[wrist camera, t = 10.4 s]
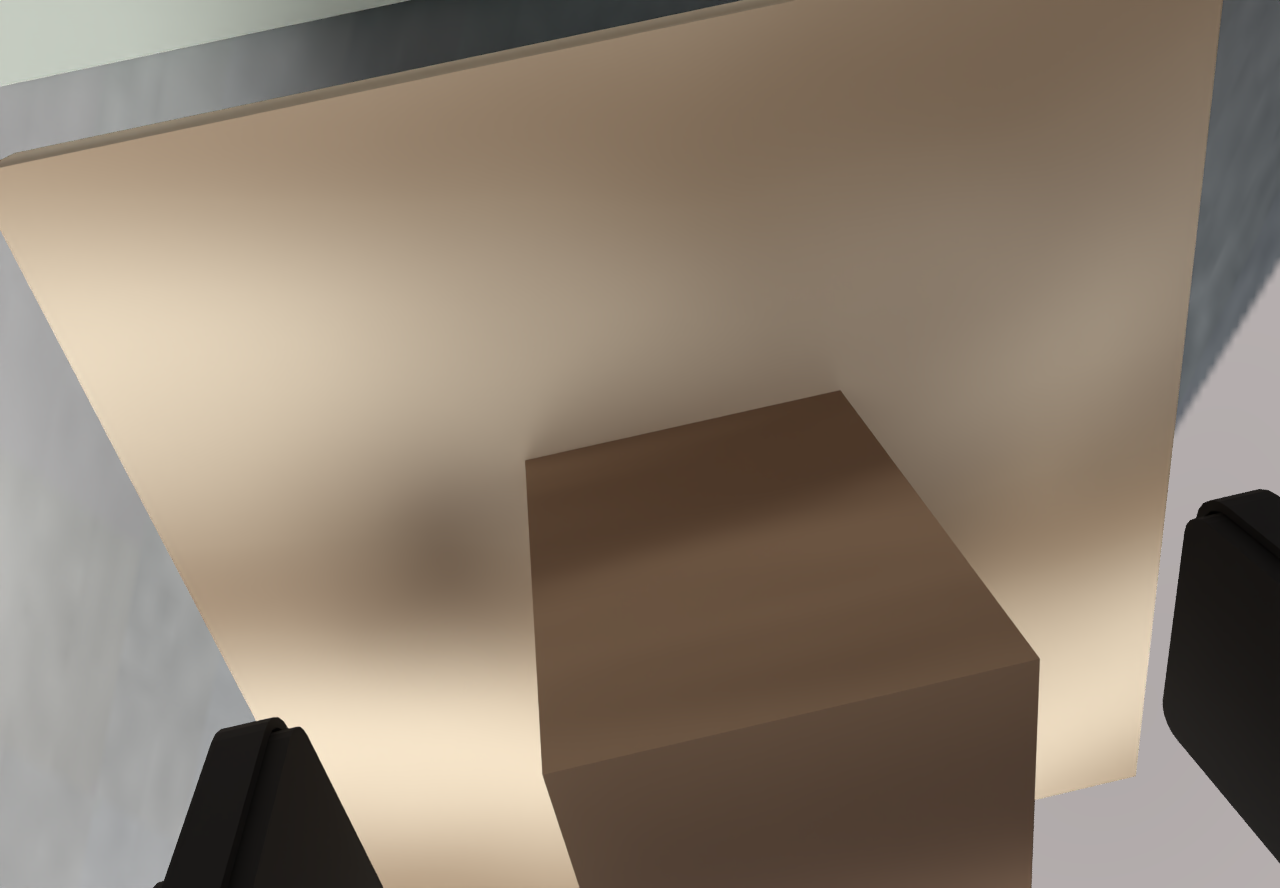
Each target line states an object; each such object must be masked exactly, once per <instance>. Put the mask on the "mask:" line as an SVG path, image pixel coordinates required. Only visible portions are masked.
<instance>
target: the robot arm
mask: <svg viewBox="0 0 1280 888" xmlns="http://www.w3.org/2000/svg"><path fill="white" fill-rule="evenodd" d="M1163 711H1164V715H1165V718H1166V721H1167V724H1168V726H1169V728H1170V730H1171V732H1172V733H1173V735H1174V736H1175V737H1176V739H1177V740H1178V741H1179V743H1180V744H1181V745H1182V746H1183V747H1184V748H1185V749H1186V751H1187V752H1188V753H1189V755H1190V756H1191V757H1192V758H1193V759H1194V760H1195V762H1196V763H1197V764H1198V765H1199V766H1200V768H1201V769H1202V770H1203V771H1204V772H1205V774H1206V775H1207V776H1208V777H1209V779H1210V780H1211V781H1212V782H1213V783H1214V785H1215V786H1216V787H1217V788H1218V789H1219V790H1220V792H1221V793H1222V794H1223V795H1224V797H1225V798H1226V799H1227V800H1228V801H1229V803H1230V804H1231V805H1232V806H1233V807H1234V809H1235V810H1236V811H1237V812H1238V813H1239V815H1240V816H1241V817H1242V818H1243V819H1244V820H1245V822H1246V823H1247V824H1248V826H1249V827H1250V828H1251V829H1252V830H1253V832H1254V833H1255V834H1256V835H1257V836H1258V838H1259V839H1260V840H1261V841H1262V842H1263V843H1264V845H1265V846H1266V847H1267V848H1268V850H1269V851H1270V852H1271V853H1272V854H1273V855H1274V857H1275V858H1276V859H1277V860H1278V862H1279V863H1280V497H1279V496H1278V495H1276V494H1274V493H1273V492H1271V491H1269V490H1262V489H1258V490H1254V491H1250V492H1245V493H1241V494H1236V495H1232V496H1228V497H1223V498H1219V499H1215V500H1210V501H1208V502H1205V503H1203V504H1202V506H1201V507H1200V508H1199V510H1198V514H1197V517H1196V518H1195V519H1192V520H1190V521H1189V522H1188V524H1187V525H1186V528H1185V532H1184V540H1183V548H1182V556H1181V563H1180V572H1179V579H1178V586H1177V595H1176V602H1175V610H1174V618H1173V625H1172V633H1171V641H1170V649H1169V657H1168V664H1167V672H1166V680H1165V688H1164V696H1163ZM153 888H383V885H382V883H381V881H380V879H379V877H378V875H377V873H376V871H375V869H374V867H373V865H372V863H371V861H370V859H369V857H368V855H367V853H366V851H365V849H364V847H363V845H362V843H361V841H360V839H359V837H358V835H357V833H356V831H355V829H354V827H353V825H352V823H351V821H350V819H349V817H348V815H347V813H346V811H345V809H344V807H343V805H342V803H341V801H340V799H339V797H338V795H337V793H336V791H335V789H334V787H333V785H332V783H331V781H330V779H329V777H328V775H327V773H326V771H325V769H324V767H323V765H322V763H321V761H320V759H319V757H318V755H317V753H316V751H315V749H314V747H313V745H312V743H311V741H310V739H309V737H308V735H307V734H306V732H305V731H304V729H303V728H301V727H293V728H288V727H287V725H286V724H285V722H284V721H283V720H282V719H280V718H279V717H272V718H268V719H263V720H259V721H255V722H250V723H246V724H242V725H237V726H233V727H229V728H224V729H221V730H220V731H218V732H217V733H216V734H215V736H214V738H213V740H212V742H211V745H210V748H209V751H208V754H207V757H206V760H205V763H204V766H203V769H202V771H201V774H200V777H199V780H198V783H197V786H196V789H195V792H194V795H193V798H192V801H191V804H190V806H189V809H188V812H187V815H186V818H185V821H184V824H183V827H182V830H181V833H180V836H179V839H178V842H177V844H176V847H175V850H174V853H173V856H172V859H171V862H170V865H169V868H168V871H167V874H166V877H165V879H164V881H162V882H159V883H157V884H156V885H155V886H154V887H153Z"/></svg>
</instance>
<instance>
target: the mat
mask: <svg viewBox="0 0 1280 888" xmlns="http://www.w3.org/2000/svg"><path fill="white" fill-rule="evenodd" d="M404 1H409V0H0V87H1V86H5V85H10V84H15V83H20V82H24V81H29V80H34V79H39V78H43V77H48V76H53V75H58V74H62V73H67V72H72V71H77V70H81V69H86V68H91V67H96V66H100V65H105V64H110V63H115V62H119V61H124V60H129V59H134V58H138V57H143V56H148V55H152V54H157V53H162V52H167V51H171V50H176V49H181V48H186V47H190V46H195V45H200V44H205V43H209V42H214V41H219V40H224V39H228V38H233V37H238V36H243V35H247V34H252V33H257V32H262V31H266V30H271V29H276V28H281V27H285V26H290V25H295V24H300V23H304V22H309V21H314V20H318V19H323V18H328V17H333V16H337V15H342V14H347V13H352V12H356V11H361V10H366V9H371V8H375V7H380V6H385V5H390V4H394V3H399V2H404Z"/></svg>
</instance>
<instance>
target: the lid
mask: <svg viewBox="0 0 1280 888" xmlns="http://www.w3.org/2000/svg"><path fill="white" fill-rule="evenodd" d="M1222 4H1223V0H741V1H736V2H732V3H727V4H722V5H717V6H713V7H708V8H703V9H698V10H694V11H689V12H684V13H679V14H675V15H670V16H665V17H660V18H655V19H651V20H646V21H641V22H636V23H632V24H627V25H622V26H617V27H613V28H608V29H603V30H598V31H594V32H589V33H584V34H579V35H574V36H570V37H565V38H560V39H555V40H551V41H546V42H541V43H536V44H532V45H527V46H522V47H517V48H513V49H508V50H503V51H498V52H494V53H489V54H484V55H479V56H474V57H470V58H465V59H460V60H455V61H451V62H446V63H441V64H436V65H432V66H427V67H422V68H417V69H413V70H408V71H403V72H398V73H394V74H389V75H384V76H379V77H374V78H370V79H365V80H360V81H355V82H351V83H346V84H341V85H336V86H332V87H327V88H322V89H317V90H313V91H308V92H303V93H298V94H294V95H289V96H284V97H279V98H274V99H270V100H265V101H260V102H255V103H251V104H246V105H241V106H236V107H232V108H227V109H222V110H217V111H213V112H208V113H203V114H198V115H194V116H189V117H184V118H179V119H174V120H170V121H165V122H160V123H155V124H151V125H146V126H141V127H136V128H132V129H127V130H122V131H117V132H113V133H108V134H103V135H98V136H94V137H89V138H84V139H79V140H74V141H70V142H65V143H60V144H55V145H51V146H46V147H41V148H36V149H32V150H27V151H22V152H17V153H14V154H12V155H10V156H8V157H6V158H3V159H1V160H0V231H1V232H2V234H3V236H4V238H5V240H6V242H7V244H8V246H9V248H10V250H11V252H12V254H13V255H14V257H15V259H16V261H17V263H18V265H19V267H20V269H21V271H22V273H23V275H24V277H25V278H26V280H27V282H28V284H29V286H30V288H31V290H32V292H33V294H34V296H35V298H36V300H37V301H38V303H39V305H40V307H41V309H42V311H43V313H44V315H45V317H46V319H47V321H48V323H49V324H50V326H51V328H52V330H53V332H54V334H55V336H56V338H57V340H58V342H59V344H60V346H61V347H62V349H63V351H64V353H65V355H66V357H67V359H68V361H69V363H70V365H71V367H72V369H73V370H74V372H75V374H76V376H77V378H78V380H79V382H80V384H81V386H82V388H83V390H84V392H85V393H86V395H87V397H88V399H89V401H90V403H91V405H92V407H93V409H94V411H95V413H96V415H97V416H98V418H99V420H100V422H101V424H102V426H103V428H104V430H105V432H106V434H107V436H108V438H109V439H110V441H111V443H112V445H113V447H114V449H115V451H116V453H117V455H118V457H119V459H120V461H121V462H122V464H123V466H124V468H125V470H126V472H127V474H128V476H129V478H130V480H131V482H132V484H133V485H134V487H135V489H136V491H137V493H138V495H139V497H140V499H141V501H142V503H143V505H144V507H145V508H146V510H147V512H148V514H149V516H150V518H151V520H152V522H153V524H154V526H155V528H156V530H157V531H158V533H159V535H160V537H161V539H162V541H163V543H164V545H165V547H166V549H167V551H168V553H169V554H170V556H171V558H172V560H173V562H174V564H175V566H176V568H177V570H178V572H179V574H180V576H181V577H182V579H183V581H184V583H185V585H186V587H187V589H188V591H189V593H190V595H191V597H192V599H193V600H194V602H195V604H196V606H197V608H198V610H199V612H200V614H201V616H202V618H203V620H204V622H205V623H206V625H207V627H208V629H209V631H210V633H211V635H212V637H213V639H214V641H215V643H216V645H217V646H218V648H219V650H220V652H221V654H222V656H223V658H224V660H225V662H226V664H227V666H228V668H229V669H230V671H231V673H232V675H233V677H234V679H235V681H236V683H237V685H238V687H239V689H240V691H241V692H242V694H243V696H244V698H245V700H246V702H247V704H248V706H249V708H250V710H251V712H252V714H253V715H254V717H255V719H256V721H259V720H263V719H268V718H272V717H279V718H280V719H282V720H283V721H284V722H285V724H286V725H287V727H288V728H293V727H301V728H303V729H304V731H305V732H306V734H307V735H308V737H309V739H310V741H311V743H312V745H313V747H314V749H315V751H316V753H317V755H318V757H319V759H320V761H321V763H322V765H323V767H324V769H325V771H326V773H327V775H328V777H329V779H330V781H331V783H332V785H333V787H334V789H335V791H336V793H337V795H338V797H339V799H340V801H341V803H342V805H343V807H344V809H345V811H346V813H347V815H348V817H349V819H350V821H351V823H352V825H353V827H354V829H355V831H356V833H357V835H358V837H359V839H360V841H361V843H362V845H363V847H364V849H365V851H366V853H367V855H368V857H369V859H370V861H371V863H372V865H373V867H374V869H375V871H376V873H377V875H378V877H379V879H380V881H381V883H382V885H383V888H1031V884H1032V857H1033V831H1034V830H1033V829H1034V805H1035V803H1034V802H1035V800H1037V799H1041V798H1046V797H1050V796H1054V795H1058V794H1062V793H1067V792H1071V791H1075V790H1079V789H1083V788H1088V787H1092V786H1096V785H1100V784H1104V783H1109V782H1113V781H1117V780H1121V779H1125V778H1130V777H1134V776H1136V767H1137V758H1138V750H1139V740H1140V732H1141V723H1142V714H1143V705H1144V696H1145V688H1146V679H1147V669H1148V661H1149V651H1150V642H1151V634H1152V625H1153V616H1154V607H1155V599H1156V590H1157V581H1158V572H1159V563H1160V553H1161V546H1162V535H1163V528H1164V518H1165V509H1166V501H1167V492H1168V482H1169V475H1170V465H1171V457H1172V448H1173V439H1174V430H1175V421H1176V412H1177V403H1178V395H1179V386H1180V377H1181V368H1182V359H1183V350H1184V341H1185V332H1186V324H1187V315H1188V306H1189V297H1190V288H1191V279H1192V270H1193V261H1194V252H1195V244H1196V235H1197V226H1198V217H1199V208H1200V199H1201V190H1202V181H1203V173H1204V164H1205V155H1206V146H1207V137H1208V128H1209V119H1210V110H1211V101H1212V93H1213V84H1214V75H1215V66H1216V57H1217V48H1218V39H1219V30H1220V22H1221V13H1222Z"/></svg>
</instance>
